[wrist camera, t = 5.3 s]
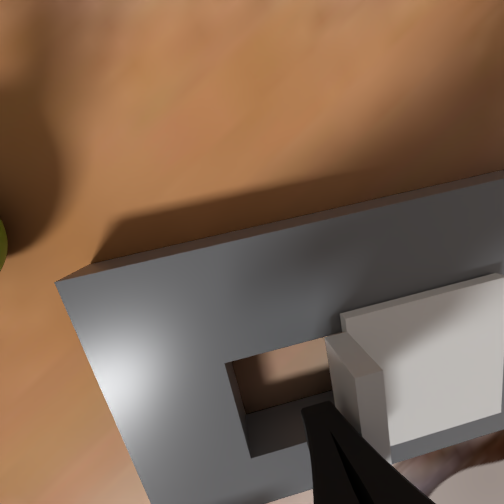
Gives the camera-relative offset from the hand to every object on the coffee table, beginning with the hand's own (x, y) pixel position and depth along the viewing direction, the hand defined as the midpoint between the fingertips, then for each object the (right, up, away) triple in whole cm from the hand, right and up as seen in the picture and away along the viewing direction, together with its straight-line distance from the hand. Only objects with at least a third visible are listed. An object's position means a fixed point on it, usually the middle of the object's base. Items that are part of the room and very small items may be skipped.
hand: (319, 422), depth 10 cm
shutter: (+5, +2, +2) cm, 6 cm away
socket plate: (+2, +2, +4) cm, 5 cm away
